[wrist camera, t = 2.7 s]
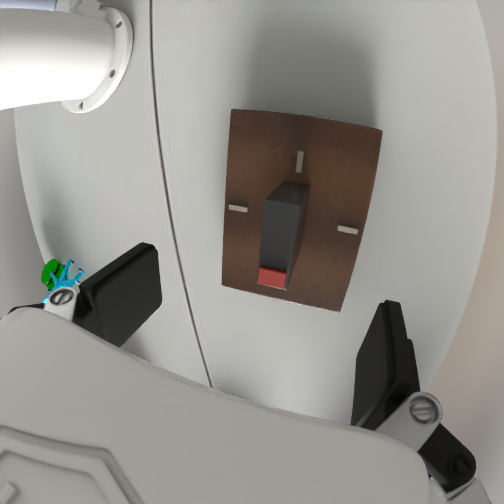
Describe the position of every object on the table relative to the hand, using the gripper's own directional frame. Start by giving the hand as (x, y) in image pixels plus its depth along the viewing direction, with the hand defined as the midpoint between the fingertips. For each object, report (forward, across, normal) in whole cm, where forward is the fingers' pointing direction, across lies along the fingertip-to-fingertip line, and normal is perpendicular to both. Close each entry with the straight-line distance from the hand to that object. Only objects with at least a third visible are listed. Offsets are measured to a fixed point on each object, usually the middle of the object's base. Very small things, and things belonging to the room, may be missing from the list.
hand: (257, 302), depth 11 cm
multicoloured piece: (+12, +32, +16) cm, 37 cm away
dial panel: (+13, 0, 0) cm, 13 cm away
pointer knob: (+10, 0, 0) cm, 10 cm away
